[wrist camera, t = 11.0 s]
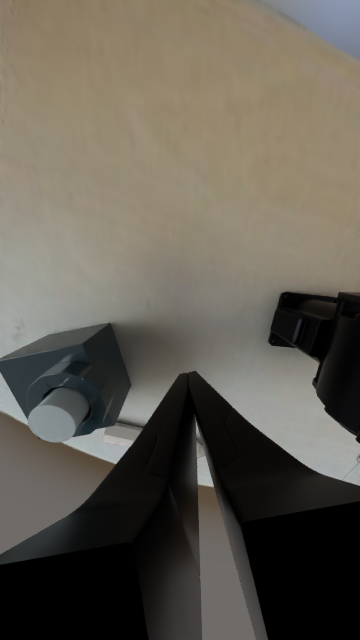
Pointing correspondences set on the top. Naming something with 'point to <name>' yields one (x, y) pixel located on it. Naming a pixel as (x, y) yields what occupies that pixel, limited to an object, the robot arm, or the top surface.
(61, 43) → the top surface
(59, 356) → the push button box
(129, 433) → the pale grey rod
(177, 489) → the robot arm
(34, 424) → the pale grey disc
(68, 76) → the top surface
